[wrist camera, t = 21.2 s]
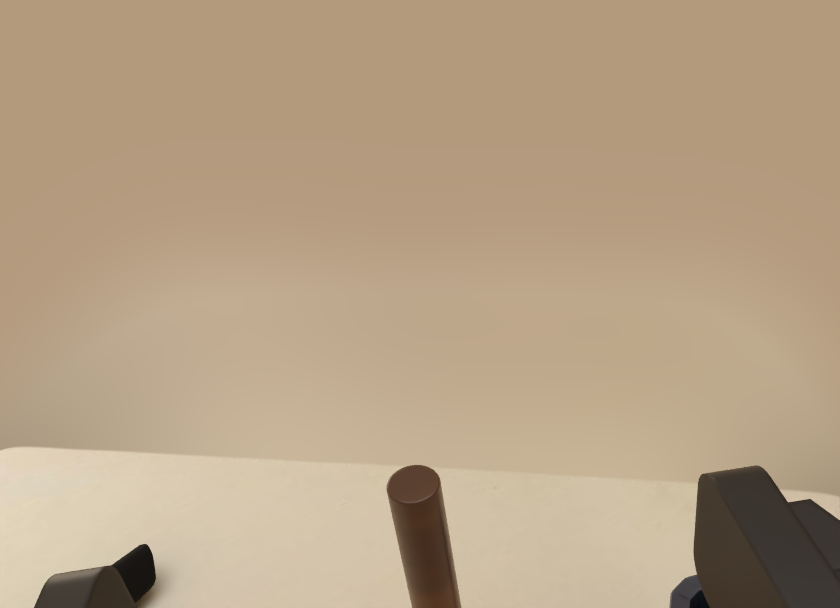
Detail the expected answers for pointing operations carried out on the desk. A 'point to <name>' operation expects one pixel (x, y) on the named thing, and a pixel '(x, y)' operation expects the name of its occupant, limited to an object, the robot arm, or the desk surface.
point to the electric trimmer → (137, 571)
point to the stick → (423, 537)
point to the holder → (688, 594)
